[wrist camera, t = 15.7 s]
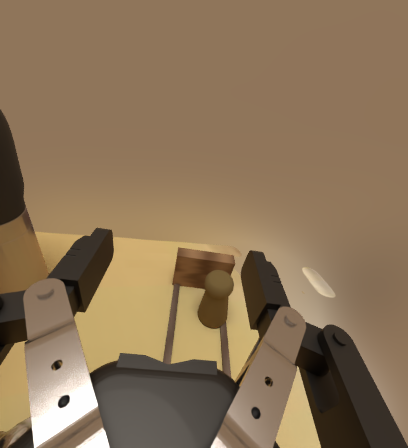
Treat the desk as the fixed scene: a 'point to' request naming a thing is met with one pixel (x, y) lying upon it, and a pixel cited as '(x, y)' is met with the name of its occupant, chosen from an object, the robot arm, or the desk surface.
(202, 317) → the cork
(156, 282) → the desk surface
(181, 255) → the lane
